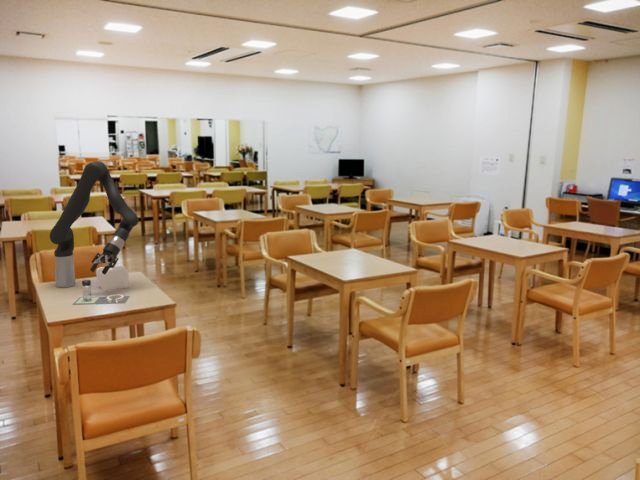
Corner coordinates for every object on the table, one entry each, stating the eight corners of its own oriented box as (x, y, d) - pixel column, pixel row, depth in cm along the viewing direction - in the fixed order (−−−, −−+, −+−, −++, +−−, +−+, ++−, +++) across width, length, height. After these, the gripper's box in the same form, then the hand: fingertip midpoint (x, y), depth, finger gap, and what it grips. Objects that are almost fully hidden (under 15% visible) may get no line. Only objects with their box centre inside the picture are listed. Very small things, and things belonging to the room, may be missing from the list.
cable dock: (71, 307, 263) (71, 302, 262) (79, 299, 275) (79, 294, 275) (124, 305, 266) (124, 300, 266) (130, 297, 278) (130, 293, 278)
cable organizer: (100, 292, 287) (98, 271, 285) (97, 287, 296) (95, 267, 293) (129, 288, 294) (128, 268, 292) (125, 284, 303) (124, 264, 301)
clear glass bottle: (82, 301, 268) (80, 282, 266) (84, 299, 271) (83, 280, 269) (90, 301, 268) (89, 282, 266) (92, 299, 272) (91, 279, 270)
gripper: (100, 240, 282) (83, 266, 274) (119, 243, 275) (102, 270, 267) (108, 248, 287) (92, 274, 280) (128, 251, 281) (111, 278, 273)
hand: (97, 272), depth 273 cm, fingers open, 8 cm apart
